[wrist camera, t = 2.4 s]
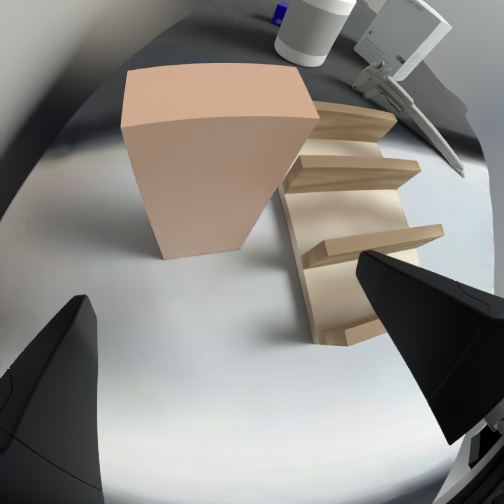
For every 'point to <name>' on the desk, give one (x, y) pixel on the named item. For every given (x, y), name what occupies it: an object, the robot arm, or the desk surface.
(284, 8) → the cable holder
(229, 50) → the desk surface
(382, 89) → the caliper
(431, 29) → the skincare box
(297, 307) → the desk surface
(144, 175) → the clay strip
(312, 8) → the spray bottle
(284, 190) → the rack
